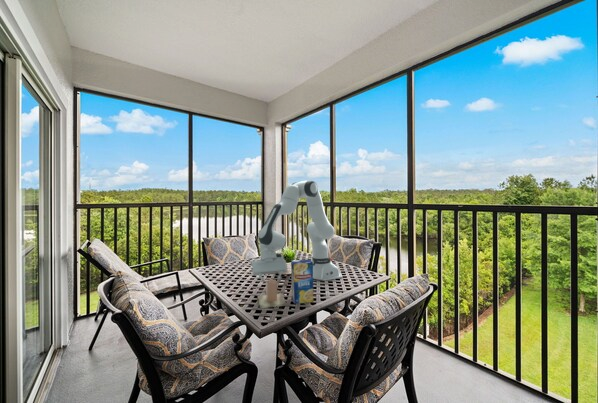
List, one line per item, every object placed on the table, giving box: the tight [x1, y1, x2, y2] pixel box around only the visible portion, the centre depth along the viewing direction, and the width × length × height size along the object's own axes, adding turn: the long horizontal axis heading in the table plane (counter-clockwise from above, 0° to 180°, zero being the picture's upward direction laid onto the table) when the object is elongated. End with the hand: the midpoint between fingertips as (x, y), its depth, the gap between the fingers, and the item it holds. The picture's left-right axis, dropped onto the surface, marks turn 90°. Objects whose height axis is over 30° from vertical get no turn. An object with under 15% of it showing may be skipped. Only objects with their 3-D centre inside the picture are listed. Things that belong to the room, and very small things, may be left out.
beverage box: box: [290, 259, 314, 305], centre depth 144 cm, size 7×11×22 cm, turn 104°
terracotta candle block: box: [265, 279, 278, 302], centre depth 143 cm, size 5×5×10 cm
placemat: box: [257, 292, 287, 310], centre depth 143 cm, size 14×14×1 cm
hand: (271, 280), depth 145 cm, fingers open, 8 cm apart
